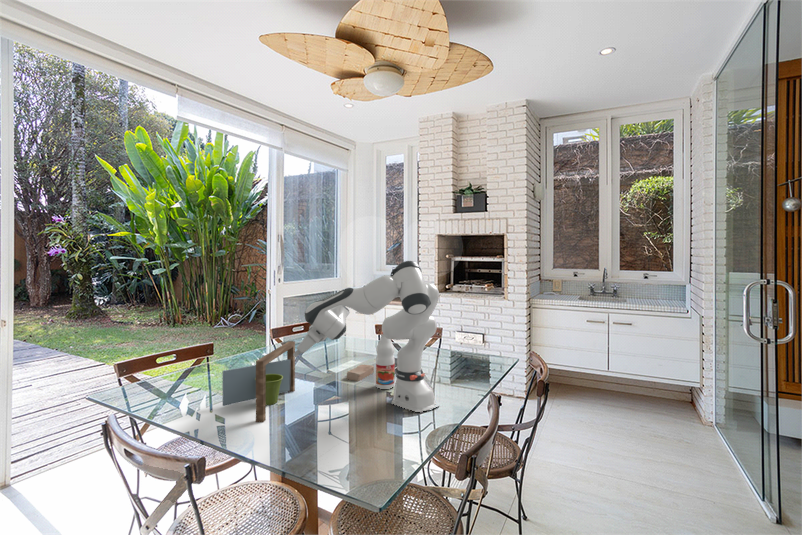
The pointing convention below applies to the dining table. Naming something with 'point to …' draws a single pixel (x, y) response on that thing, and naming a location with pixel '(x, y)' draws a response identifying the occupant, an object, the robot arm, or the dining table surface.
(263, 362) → the door frame
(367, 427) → the dining table surface
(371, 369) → the brick
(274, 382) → the plant pot
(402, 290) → the robot arm
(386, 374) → the fruit juice
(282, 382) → the door
